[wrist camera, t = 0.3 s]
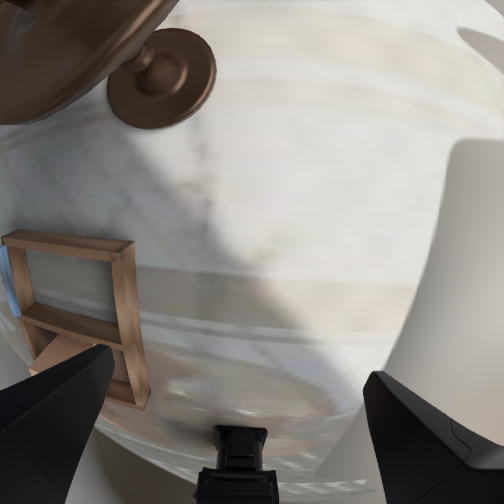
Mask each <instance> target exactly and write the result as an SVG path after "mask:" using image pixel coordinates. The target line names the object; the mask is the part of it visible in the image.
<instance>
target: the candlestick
mask: <svg viewBox="0 0 504 504" xmlns="http://www.w3.org/2000/svg"><path fill="white" fill-rule="evenodd" d="M178 1H179V0H0V125H28V124H31V123H34V122H37V121H41V120H44V119H46V118H48V117H50V116H51V115H53V114H55V113H57V112H59V111H61V110H63V109H65V108H66V107H68V106H69V105H70V104H72V103H73V102H75V101H76V100H77V99H79V98H80V97H82V96H83V95H85V94H86V93H87V92H89V91H90V90H92V89H93V88H94V87H95V86H96V85H97V84H98V83H100V82H101V81H102V80H103V79H104V78H105V77H107V76H108V75H109V77H108V84H107V96H108V100H109V104H110V106H111V108H112V110H113V112H114V113H115V114H116V115H117V116H118V117H119V119H121V120H122V121H124V122H125V123H127V124H129V125H132V126H134V127H137V128H141V129H148V130H156V129H164V128H168V127H172V126H174V125H176V124H179V123H181V122H183V121H184V120H186V119H187V118H189V117H191V116H192V115H193V114H194V113H195V112H196V111H198V110H199V109H200V108H201V107H202V105H203V104H204V103H205V102H206V100H207V99H208V97H209V95H210V93H211V92H212V90H213V87H214V84H215V81H216V73H217V68H216V60H215V58H214V55H213V53H212V50H211V48H210V46H209V45H208V44H207V42H206V41H205V40H204V39H203V38H201V37H200V36H199V35H197V34H195V33H193V32H191V31H189V30H184V29H180V28H167V29H160V30H156V31H154V30H155V29H156V28H157V27H158V26H159V25H160V24H161V23H162V22H163V21H164V20H165V19H166V17H167V16H168V14H169V13H170V12H171V10H172V9H173V8H174V6H175V5H176V4H177V3H178Z"/></svg>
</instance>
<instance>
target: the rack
mask: <svg viewBox="0 0 504 504" xmlns="http://www.w3.org/2000/svg"><path fill="white" fill-rule="evenodd" d="M1 241H2V245H0V269H1V274H2V279H3V283H4V287H5V291H6V295H7V299H8V303H9V306H10V310H11V313H12V316H14V317H16V318H19V322H20V325H21V328H22V331H23V334H24V336H25V339H26V342H27V345H28V347H29V350H30V352H31V355H32V357H33V360H34V361H35V360H36V359H37V357H38V356H39V355H40V354H41V353H42V352H43V351H44V350H45V348H46V347H47V346H48V344H47V342H46V339H45V335H44V332H43V329H42V328H44V329H47V330H50V331H53V332H56V333H59V334H62V335H65V336H68V337H71V338H74V339H78V340H81V341H85V342H88V343H92V344H95V345H97V344H99V343H102V344H105V345H109V346H110V347H111V349H115V350H119V351H123V352H124V357H125V362H126V366H127V371H128V375H129V379H130V383H131V384H129V383H125V382H121V381H117V380H113V379H111V381H110V384H109V387H108V391H107V394H106V397H105V400H107V401H110V402H113V403H117V404H120V405H124V406H127V407H131V408H135V409H139V410H143V411H144V410H145V407H146V405H147V402H148V399H149V397H150V394H151V390H150V385H149V380H148V375H147V369H146V363H145V357H144V350H143V343H142V336H141V328H140V319H139V309H138V298H137V285H136V269H135V242H132V241H122V240H113V239H103V238H94V237H84V236H75V235H65V234H56V233H46V232H37V231H28V230H16V231H14V232H11V233H9V234H7V235H4V236H2V237H1ZM25 249H30V250H36V251H42V252H49V253H55V254H61V255H68V256H74V257H81V258H88V259H95V260H102V261H109V262H111V267H112V278H113V288H114V296H115V304H116V311H117V318H118V324H115V323H110V322H106V321H101V320H97V319H93V318H89V317H85V316H81V315H77V314H73V313H69V312H66V311H62V310H58V309H55V308H51V307H48V306H45V305H41V304H38V303H35V300H34V296H33V292H32V287H31V282H30V277H29V272H28V266H27V260H26V254H25Z"/></svg>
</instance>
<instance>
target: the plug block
mask: <svg viewBox="0 0 504 504" xmlns="http://www.w3.org/2000/svg"><path fill="white" fill-rule="evenodd" d="M93 346H95V344H92V343H88V342H85V341H81V340H78V339H74V338H71V337H68V336H65V335H62V334H58V335H57V336H56V337H55V339H54V340H53V341H52V342H51V343H50V344H49V345H48V346H47V347H46V348H45V350H44V351H43V352H42V353H41V354H40V355H39V356H38V357H37V359H36V360H35V361H34V362H33V363H32V364H31V366H30V367H29V370H30V372H31V375H32V376H33V375H35V374H38V373H40V372H42V371H44V370H46V369H48V368H50V367H52V366H54V365H56V364H58V363H60V362H62V361H64V360H66V359H69V358H71V357H73V356H75V355H77V354H79V353H81V352H83V351H85V350H87V349H89V348H91V347H93Z"/></svg>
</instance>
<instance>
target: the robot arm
mask: <svg viewBox="0 0 504 504" xmlns="http://www.w3.org/2000/svg"><path fill="white" fill-rule="evenodd" d="M114 369H115V362H114V358H113V353H112V349H111V347H110V346H109V345H105V344H102V343H99V344H97V345H95V346H93V347H91V348H89V349H87V350H85V351H83V352H81V353H79V354H77V355H75V356H73V357H71V358H69V359H66V360H64V361H62V362H60V363H58V364H56V365H54V366H52V367H50V368H48V369H46V370H44V371H42V372H40V373H38V374H35V375H33V376H31V377H29V378H27V379H25V380H24V381H21V382H19V383H16V384H14V385H12V386H10V387H8V388H5V389H2V390H0V504H65V501H66V498H67V495H68V494H67V493H68V491H69V488H70V485H71V483H72V480H73V477H74V474H75V471H76V469H77V466H78V463H79V461H80V458H81V455H82V453H83V451H84V448H85V446H86V443H87V440H88V438H89V436H90V433H91V431H92V428H93V426H94V424H95V422H96V419H97V417H98V415H99V412H100V410H101V408H102V405H103V403H104V400H105V397H106V394H107V391H108V387H109V384H110V381H111V378H112V375H113V372H114ZM363 396H364V402H365V408H366V414H367V421H368V426H369V431H370V435H371V438H372V442H373V446H374V450H375V454H376V458H377V462H378V466H379V470H380V475H381V479H382V484H383V488H384V492H385V498H386V503H387V504H504V446H501V445H498V444H496V443H494V442H492V441H490V440H488V439H486V438H484V437H482V436H480V435H478V434H476V433H475V432H473V431H471V430H469V429H467V428H466V427H464V426H463V425H461V424H459V423H458V422H456V421H455V420H453V419H452V418H450V417H449V416H447V415H446V414H444V413H443V412H442V411H440V410H439V409H437V408H436V407H434V406H432V405H431V404H430V403H428V402H427V401H425V400H424V399H422V398H421V397H419V396H418V395H417V394H415V393H414V392H412V391H411V390H409V389H408V388H407V387H405V386H404V385H402V384H401V383H399V382H398V381H397V380H395V379H394V378H392V377H391V376H389V375H388V374H387V373H385V372H384V371H373V372H371V374H370V375H369V377H368V380H367V382H366V384H365V386H364V388H363ZM267 434H268V433H267V430H266V429H251V428H236V427H225V426H217V427H216V450H217V451H218V453H217V464H216V469H210V468H206V467H203V471H201V472H199V476H198V482H197V485H196V488H195V491H194V494H193V499H195V500H196V502H197V504H279V492H278V485H277V478H276V471H275V470H271V471H263V467H262V450H263V447H264V443H265V440H266V437H267Z"/></svg>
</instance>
